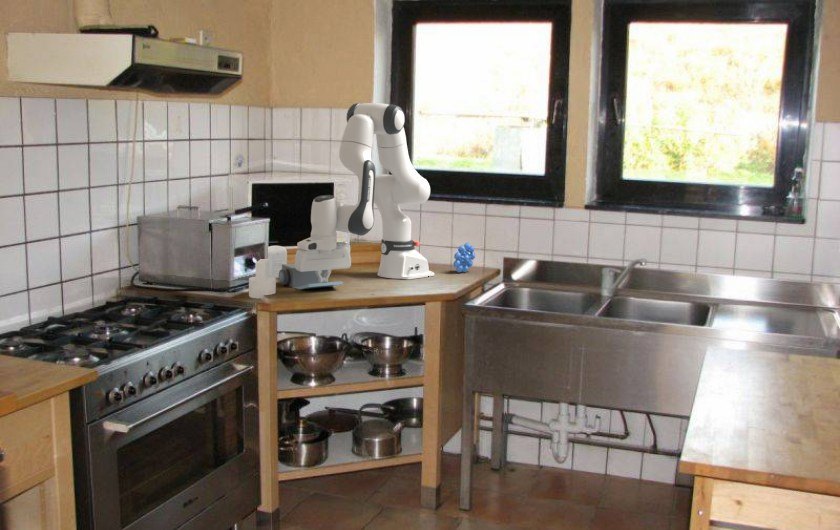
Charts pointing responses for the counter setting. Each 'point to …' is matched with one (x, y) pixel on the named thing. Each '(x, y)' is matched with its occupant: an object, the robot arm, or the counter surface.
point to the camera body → (297, 276)
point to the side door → (320, 285)
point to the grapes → (464, 258)
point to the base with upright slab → (262, 281)
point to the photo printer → (276, 260)
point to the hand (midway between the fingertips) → (323, 282)
